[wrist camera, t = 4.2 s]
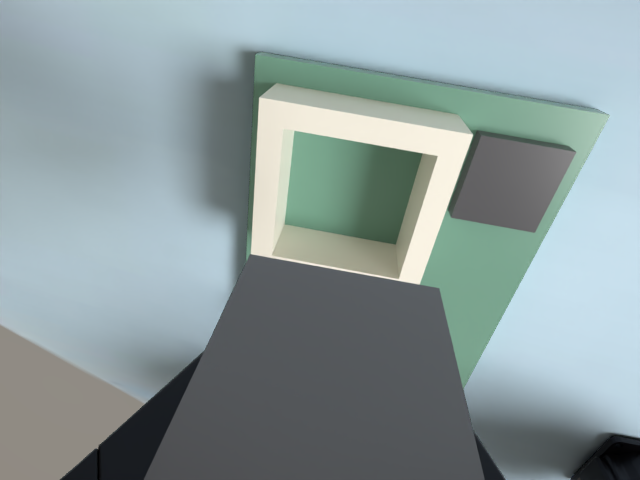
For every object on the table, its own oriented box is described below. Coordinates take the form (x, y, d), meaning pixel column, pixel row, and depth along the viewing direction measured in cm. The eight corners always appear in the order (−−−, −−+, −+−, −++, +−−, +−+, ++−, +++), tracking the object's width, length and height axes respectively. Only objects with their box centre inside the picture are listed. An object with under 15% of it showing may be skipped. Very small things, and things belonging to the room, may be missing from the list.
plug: (439, 288, 9) (549, 756, 3) (392, 404, 11) (414, 789, 6) (249, 254, 9) (59, 658, 4) (243, 376, 12) (125, 729, 6)
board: (598, 109, 17) (630, 124, 15) (460, 376, 26) (468, 408, 24) (261, 51, 17) (245, 58, 15) (246, 335, 27) (235, 363, 25)
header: (458, 114, 17) (473, 134, 14) (409, 263, 21) (414, 299, 18) (276, 83, 17) (259, 97, 14) (265, 236, 21) (250, 268, 19)
